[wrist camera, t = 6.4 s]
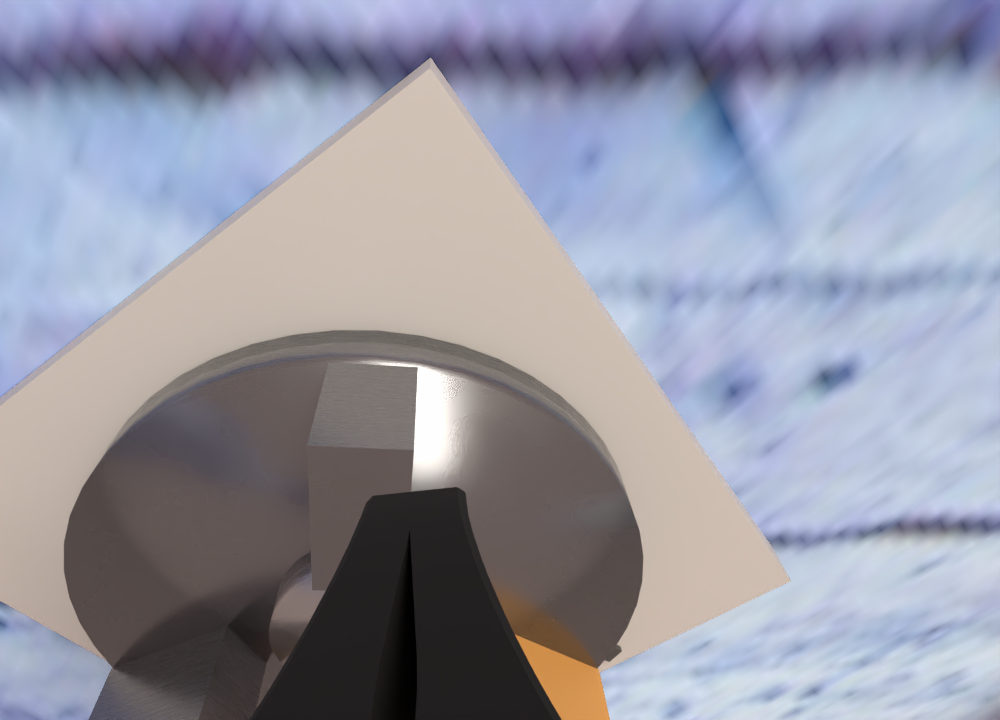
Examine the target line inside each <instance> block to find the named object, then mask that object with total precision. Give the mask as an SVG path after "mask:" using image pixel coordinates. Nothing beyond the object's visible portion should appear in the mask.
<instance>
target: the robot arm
mask: <svg viewBox="0 0 1000 720" xmlns="http://www.w3.org/2000/svg"><path fill="white" fill-rule="evenodd" d="M249 720H562V719H561V717H560V716H559V714H558V712H557V711H556V709H555V707H554V706H553V704H552V702H551V701H550V699H549V697H548V696H547V694H546V692H545V690H544V688H543V687H542V685H541V683H540V681H539V680H538V678H537V676H536V674H535V672H534V670H533V669H532V667H531V665H530V663H529V661H528V659H527V657H526V655H525V653H524V651H523V649H522V647H521V646H520V644H519V642H518V640H517V638H516V636H515V634H514V632H513V630H512V628H511V626H510V623H509V621H508V619H507V617H506V615H505V613H504V611H503V608H502V606H501V604H500V602H499V599H498V597H497V595H496V592H495V590H494V588H493V585H492V583H491V581H490V579H489V576H488V574H487V571H486V569H485V566H484V563H483V561H482V558H481V555H480V552H479V549H478V546H477V543H476V540H475V537H474V534H473V531H472V527H471V523H470V519H469V515H468V507H467V499H466V492H464V491H463V490H461V489H460V488H458V487H451V488H441V489H432V490H423V491H413V492H404V493H394V494H385V495H375V496H372V497H371V498H370V499H369V500H368V501H367V502H366V504H365V507H364V510H363V512H362V515H361V517H360V520H359V522H358V524H357V527H356V529H355V531H354V534H353V536H352V538H351V540H350V543H349V545H348V547H347V549H346V551H345V553H344V555H343V557H342V559H341V562H340V564H339V566H338V568H337V570H336V572H335V574H334V576H333V578H332V580H331V582H330V584H329V585H328V587H327V589H326V591H325V593H324V595H323V597H322V599H321V600H320V602H319V604H318V606H317V608H316V610H315V612H314V614H313V616H312V617H311V619H310V621H309V623H308V625H307V627H306V628H305V630H304V632H303V634H302V635H301V637H300V639H299V640H298V642H297V644H296V645H295V647H294V649H293V650H292V652H291V654H290V655H289V657H288V659H287V660H286V662H285V664H284V665H283V667H282V669H281V670H280V672H279V674H278V675H277V677H276V679H275V680H274V682H273V684H272V685H271V687H270V689H269V690H268V692H267V693H266V695H265V696H264V698H263V700H262V701H261V703H260V704H259V706H258V707H257V709H256V710H255V712H254V713H253V715H252V716H251V718H250V719H249Z"/></svg>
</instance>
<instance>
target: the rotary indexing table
mask: <svg viewBox="0 0 1000 720" xmlns="http://www.w3.org/2000/svg"><path fill="white" fill-rule="evenodd" d="M451 487H458V488H460V489H461V490H463V491H464V492H466V499H467V507H468V515H469V519H470V523H471V527H472V531H473V534H474V537H475V540H476V543H477V546H478V549H479V552H480V555H481V558H482V561H483V563H484V566H485V569H486V571H487V574H488V576H489V579H490V581H491V583H492V585H493V588H494V590H495V592H496V595H497V597H498V599H499V602H500V604H501V606H502V608H503V611H504V613H505V615H506V617H507V619H508V621H509V623H510V626H511V628H512V630H513V632H514V634H515V636H516V638H517V640H518V642H519V644H520V646H521V647H522V649H523V651H524V653H525V655H526V657H527V659H528V661H529V663H530V665H531V667H532V669H533V670H534V672H535V674H536V676H537V678H538V680H539V681H540V683H541V685H542V687H543V688H544V690H545V692H546V694H547V696H548V697H549V699H550V701H551V702H552V704H553V706H554V707H555V709H556V711H557V712H558V714H559V716H560V717H561V719H562V720H610V718H609V714H608V709H607V705H606V700H605V696H604V691H603V687H602V682H601V678H600V673H599V669H598V667H599V666H600V665H601V664H602V663H603V661H604V660H605V659H606V658H607V657H608V655H609V654H610V653H611V652H612V651H613V650H614V648H615V647H616V645H617V643H618V642H619V640H620V639H621V637H622V635H623V634H624V632H625V630H626V629H627V627H628V625H629V622H630V620H631V618H632V615H633V613H634V610H635V608H636V606H637V602H638V598H639V593H640V589H641V585H642V577H643V550H642V543H641V537H640V530H639V527H638V525H637V522H636V519H635V516H634V513H633V510H632V507H631V504H630V501H629V498H628V495H627V492H626V490H625V487H624V484H623V481H622V478H621V475H620V472H619V469H618V466H617V465H616V463H615V461H614V459H613V457H612V456H611V454H610V452H609V450H608V448H607V447H606V445H605V443H604V441H603V440H602V439H601V438H600V436H599V435H598V434H597V433H596V431H595V430H594V429H593V428H592V426H591V425H590V424H589V423H588V421H587V420H586V419H585V418H584V417H583V416H582V415H581V414H580V413H579V412H578V411H577V410H576V409H575V408H573V407H572V406H571V405H570V404H569V403H568V402H567V401H566V400H565V399H564V398H563V397H562V396H560V395H559V394H557V393H556V392H555V391H553V390H552V389H550V388H549V387H547V386H546V385H544V384H543V383H542V382H540V381H539V380H537V379H536V378H534V377H533V376H531V375H529V374H527V373H525V372H523V371H521V370H519V369H518V368H516V367H514V366H512V365H510V364H508V363H506V362H504V361H502V360H500V359H498V358H495V357H492V356H490V355H487V354H484V353H481V352H479V351H476V350H473V349H470V348H468V347H465V346H462V345H459V344H454V343H450V342H446V341H442V340H438V339H433V338H429V337H425V336H420V335H412V334H404V333H395V332H387V331H379V330H333V331H323V332H314V333H305V334H296V335H290V336H285V337H281V338H277V339H272V340H268V341H264V342H259V343H255V344H251V345H248V346H245V347H243V348H240V349H237V350H234V351H232V352H229V353H226V354H223V355H221V356H218V357H215V358H213V359H211V360H209V361H207V362H205V363H203V364H201V365H199V366H198V367H196V368H194V369H192V370H190V371H188V372H186V373H184V374H182V375H180V376H179V377H177V378H176V379H175V380H173V381H172V382H171V383H169V384H168V385H166V386H165V387H164V388H162V389H161V390H159V391H158V392H157V393H155V394H154V395H153V396H151V397H150V398H149V399H148V400H147V401H146V402H145V403H144V404H143V405H142V406H141V407H140V408H139V409H138V410H137V411H136V412H135V413H134V414H133V415H132V416H131V417H130V418H129V419H128V420H127V421H126V423H125V424H124V425H123V427H122V428H121V430H120V431H119V433H118V434H117V435H116V437H115V438H114V440H113V441H112V443H111V444H110V445H109V447H108V448H107V450H106V451H105V453H104V455H103V456H102V458H101V459H100V461H99V462H98V464H97V465H96V467H95V468H94V470H93V472H92V473H91V475H90V476H89V478H88V479H87V481H86V482H85V484H84V485H83V487H82V489H81V491H80V493H79V496H78V498H77V500H76V502H75V505H74V507H73V509H72V511H71V514H70V517H69V521H68V526H67V531H66V535H65V540H64V574H65V579H66V584H67V589H68V594H69V598H70V601H71V603H72V605H73V608H74V610H75V613H76V615H77V618H78V620H79V622H80V624H81V626H82V627H83V629H84V630H85V632H86V634H87V635H88V637H89V638H90V640H91V642H92V643H93V645H94V646H95V647H96V649H97V650H98V651H99V652H100V653H101V654H102V656H103V657H104V658H105V659H106V660H107V661H108V663H109V664H110V665H111V666H112V667H113V668H112V669H111V671H110V673H109V676H108V678H107V680H106V682H105V684H104V687H103V689H102V691H101V693H100V696H99V698H98V700H97V702H96V705H95V707H94V709H93V711H92V714H91V716H90V718H89V720H249V719H250V718H251V716H252V715H253V713H254V712H255V710H256V709H257V707H258V706H259V704H260V703H261V701H262V700H263V698H264V696H265V695H266V693H267V692H268V690H269V689H270V687H271V685H272V684H273V682H274V680H275V679H276V677H277V675H278V674H279V672H280V670H281V669H282V667H283V665H284V664H285V662H286V660H287V659H288V657H289V655H290V654H291V652H292V650H293V649H294V647H295V645H296V644H297V642H298V640H299V639H300V637H301V635H302V634H303V632H304V630H305V628H306V627H307V625H308V623H309V621H310V619H311V617H312V616H313V614H314V612H315V610H316V608H317V606H318V604H319V602H320V600H321V599H322V597H323V595H324V593H325V591H326V589H327V587H328V585H329V584H330V582H331V580H332V578H333V576H334V574H335V572H336V570H337V568H338V566H339V564H340V562H341V559H342V557H343V555H344V553H345V551H346V549H347V547H348V545H349V543H350V540H351V538H352V536H353V534H354V531H355V529H356V527H357V524H358V522H359V520H360V517H361V515H362V512H363V510H364V507H365V504H366V502H367V501H368V500H369V499H370V498H371V497H372V496H375V495H385V494H394V493H404V492H413V491H423V490H432V489H441V488H451Z"/></svg>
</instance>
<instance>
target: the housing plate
mask: <svg viewBox="0 0 1000 720" xmlns="http://www.w3.org/2000/svg"><path fill="white" fill-rule="evenodd" d="M333 330H379V331H387V332H395V333H404V334H412V335H420V336H425V337H429V338H433V339H438V340H442V341H446V342H450V343H454V344H459V345H462V346H465V347H468V348H470V349H473V350H476V351H479V352H481V353H484V354H487V355H490V356H492V357H495V358H498V359H500V360H502V361H504V362H506V363H508V364H510V365H512V366H514V367H516V368H518V369H519V370H521V371H523V372H525V373H527V374H529V375H531V376H533V377H534V378H536V379H537V380H539V381H540V382H542V383H543V384H544V385H546V386H547V387H549V388H550V389H552V390H553V391H555V392H556V393H557V394H559V395H560V396H562V397H563V398H564V399H565V400H566V401H567V402H568V403H569V404H570V405H571V406H572V407H573V408H575V409H576V410H577V411H578V412H579V413H580V414H581V415H582V416H583V417H584V418H585V419H586V420H587V421H588V423H589V424H590V425H591V426H592V428H593V429H594V430H595V431H596V433H597V434H598V435H599V436H600V438H601V439H602V440H603V441H604V443H605V445H606V447H607V448H608V450H609V452H610V454H611V456H612V457H613V459H614V461H615V463H616V465H617V466H618V469H619V472H620V475H621V478H622V481H623V484H624V487H625V490H626V492H627V495H628V498H629V501H630V504H631V507H632V510H633V513H634V516H635V519H636V522H637V525H638V527H639V530H640V537H641V543H642V550H643V577H642V585H641V589H640V593H639V598H638V602H637V606H636V608H635V610H634V613H633V615H632V618H631V620H630V622H629V625H628V627H627V629H626V630H625V632H624V634H623V635H622V637H621V639H620V640H619V642H618V643H617V645H616V647H615V648H614V650H613V651H612V652H611V653H610V654H609V655H608V657H607V658H606V659H605V660H604V661H603V663H602V664H601V665H600V666H599V667H598V669H599V673H600V672H602V671H604V670H606V669H608V668H610V667H612V666H614V665H616V664H618V663H621V662H623V661H625V660H627V659H629V658H631V657H633V656H635V655H637V654H639V653H641V652H644V651H646V650H648V649H650V648H652V647H654V646H656V645H658V644H660V643H662V642H664V641H667V640H669V639H671V638H673V637H675V636H677V635H679V634H681V633H683V632H685V631H687V630H690V629H692V628H694V627H696V626H698V625H700V624H702V623H704V622H706V621H708V620H710V619H713V618H715V617H717V616H719V615H721V614H723V613H725V612H727V611H729V610H731V609H733V608H736V607H738V606H740V605H742V604H744V603H746V602H748V601H750V600H752V599H754V598H756V597H759V596H761V595H763V594H765V593H767V592H769V591H771V590H773V589H775V588H777V587H779V586H782V585H784V584H786V583H788V582H790V581H791V580H790V578H789V577H788V575H787V573H786V571H785V569H784V568H783V566H782V564H781V562H780V560H779V559H778V557H777V555H776V553H775V551H774V549H773V548H772V546H771V545H770V543H769V542H768V541H767V539H766V538H765V536H764V535H763V533H762V532H761V531H760V529H759V528H758V526H757V525H756V523H755V522H754V520H753V519H752V518H751V516H750V515H749V513H748V512H747V510H746V509H745V508H744V506H743V505H742V503H741V502H740V500H739V499H738V498H737V496H736V495H735V493H734V492H733V490H732V489H731V488H730V486H729V485H728V483H727V482H726V480H725V479H724V477H723V476H722V475H721V473H720V472H719V470H718V469H717V467H716V466H715V465H714V463H713V462H712V460H711V459H710V457H709V456H708V455H707V453H706V452H705V450H704V449H703V447H702V446H701V445H700V443H699V442H698V440H697V439H696V437H695V436H694V434H693V433H692V432H691V430H690V429H689V427H688V426H687V424H686V423H685V422H684V420H683V419H682V417H681V416H680V414H679V413H678V412H677V410H676V409H675V407H674V406H673V404H672V403H671V401H670V400H669V399H668V397H667V396H666V394H665V393H664V391H663V390H662V389H661V387H660V386H659V384H658V383H657V381H656V380H655V379H654V377H653V376H652V374H651V373H650V371H649V370H648V369H647V367H646V366H645V364H644V363H643V361H642V360H641V358H640V357H639V356H638V354H637V353H636V351H635V350H634V348H633V347H632V346H631V344H630V343H629V341H628V340H627V338H626V337H625V336H624V334H623V333H622V331H621V330H620V328H619V327H618V326H617V324H616V323H615V321H614V320H613V318H612V317H611V315H610V314H609V313H608V311H607V310H606V308H605V307H604V305H603V304H602V303H601V301H600V300H599V298H598V297H597V295H596V294H595V293H594V291H593V290H592V288H591V287H590V285H589V284H588V283H587V281H586V280H585V278H584V277H583V275H582V274H581V272H580V271H579V270H578V268H577V267H576V265H575V264H574V262H573V261H572V260H571V258H570V257H569V255H568V254H567V252H566V251H565V250H564V248H563V247H562V245H561V244H560V242H559V241H558V240H557V238H556V237H555V235H554V234H553V232H552V231H551V229H550V228H549V227H548V225H547V224H546V222H545V221H544V219H543V218H542V217H541V215H540V214H539V212H538V211H537V209H536V208H535V207H534V205H533V204H532V202H531V201H530V199H529V198H528V197H527V195H526V194H525V192H524V191H523V189H522V188H521V186H520V185H519V184H518V182H517V181H516V179H515V178H514V176H513V175H512V174H511V172H510V171H509V169H508V168H507V166H506V165H505V164H504V162H503V161H502V159H501V158H500V156H499V155H498V154H497V152H496V151H495V149H494V148H493V146H492V145H491V143H490V142H489V141H488V139H487V138H486V136H485V135H484V133H483V132H482V131H481V129H480V128H479V126H478V125H477V123H476V122H475V121H474V119H473V118H472V116H471V115H470V113H469V112H468V111H467V109H466V108H465V106H464V105H463V103H462V102H461V100H460V99H459V98H458V96H457V95H456V93H455V92H454V90H453V89H452V88H451V86H450V85H449V83H448V82H447V80H446V79H445V78H444V76H443V75H442V73H441V72H440V70H439V69H438V68H437V66H436V65H435V63H434V62H433V60H432V59H431V58H429V59H428V60H427V61H426V62H424V63H423V64H422V65H421V66H419V67H418V68H417V69H416V70H414V71H413V72H412V73H410V74H409V75H408V76H407V77H405V78H404V79H403V80H402V81H400V82H399V83H398V84H397V85H395V86H394V87H393V88H392V89H390V90H389V91H388V92H386V93H385V94H384V95H383V96H381V97H380V98H379V99H378V100H376V101H375V102H374V103H373V104H371V105H370V106H369V107H367V108H366V109H365V110H364V111H362V112H361V113H360V114H359V115H357V116H356V117H355V118H354V119H352V120H351V121H350V122H348V123H347V124H346V125H345V126H343V127H342V128H341V129H340V130H338V131H337V132H336V133H335V134H333V135H332V136H331V137H330V138H328V139H327V140H326V141H324V142H323V143H322V144H321V145H319V146H318V147H317V148H316V149H314V150H313V151H312V152H311V153H309V154H308V155H307V156H305V157H304V158H303V159H302V160H300V161H299V162H298V163H297V164H295V165H294V166H293V167H292V168H290V169H289V170H288V171H286V172H285V173H284V174H283V175H281V176H280V177H279V178H278V179H276V180H275V181H274V182H273V183H271V184H270V185H269V186H267V187H266V188H265V189H264V190H262V191H261V192H260V193H259V194H257V195H256V196H255V197H254V198H252V199H251V200H250V201H249V202H247V203H246V204H245V205H243V206H242V207H241V208H240V209H238V210H237V211H236V212H235V213H233V214H232V215H231V216H230V217H228V218H227V219H226V220H224V221H223V222H222V223H221V224H219V225H218V226H217V227H216V228H214V229H213V230H212V231H211V232H209V233H208V234H207V235H205V236H204V237H203V238H202V239H200V240H199V241H198V242H197V243H195V244H194V245H193V246H192V247H190V248H189V249H188V250H187V251H185V252H184V253H183V254H181V255H180V256H179V257H178V258H176V259H175V260H174V261H173V262H171V263H170V264H169V265H168V266H166V267H165V268H164V269H162V270H161V271H160V272H159V273H157V274H156V275H155V276H154V277H152V278H151V279H150V280H149V281H147V282H146V283H145V284H143V285H142V286H141V287H140V288H138V289H137V290H136V291H135V292H133V293H132V294H131V295H130V296H128V297H127V298H126V299H124V300H123V301H122V302H121V303H119V304H118V305H117V306H116V307H114V308H113V309H112V310H111V311H109V312H108V313H107V314H106V315H104V316H103V317H102V318H100V319H99V320H98V321H97V322H95V323H94V324H93V325H92V326H90V327H89V328H88V329H87V330H85V331H84V332H83V333H81V334H80V335H79V336H78V337H76V338H75V339H74V340H73V341H71V342H70V343H69V344H68V345H66V346H65V347H64V348H62V349H61V350H60V351H59V352H57V353H56V354H55V355H54V356H52V357H51V358H50V359H49V360H47V361H46V362H45V363H43V364H42V365H41V366H40V367H38V368H37V369H36V370H35V371H33V372H32V373H31V374H30V375H28V376H27V377H26V378H25V379H23V380H22V381H21V382H19V383H18V384H17V385H16V386H14V387H13V388H12V389H11V390H9V391H8V392H7V393H6V394H4V395H3V396H2V397H0V601H1V602H3V603H5V604H7V605H8V606H10V607H12V608H14V609H16V610H17V611H19V612H21V613H23V614H24V615H26V616H28V617H30V618H32V619H33V620H35V621H37V622H39V623H40V624H42V625H44V626H46V627H47V628H49V629H51V630H53V631H55V632H56V633H58V634H60V635H62V636H63V637H65V638H67V639H69V640H71V641H72V642H74V643H76V644H78V645H79V646H81V647H83V648H85V649H87V650H88V651H90V652H92V653H94V654H95V655H97V656H99V657H101V658H102V659H104V660H106V659H105V658H104V657H103V656H102V654H101V653H100V652H99V651H98V650H97V649H96V647H95V646H94V645H93V643H92V642H91V640H90V638H89V637H88V635H87V634H86V632H85V630H84V629H83V627H82V626H81V624H80V622H79V620H78V618H77V615H76V613H75V610H74V608H73V605H72V603H71V601H70V598H69V594H68V589H67V584H66V579H65V574H64V540H65V535H66V531H67V526H68V521H69V517H70V514H71V511H72V509H73V507H74V505H75V502H76V500H77V498H78V496H79V493H80V491H81V489H82V487H83V485H84V484H85V482H86V481H87V479H88V478H89V476H90V475H91V473H92V472H93V470H94V468H95V467H96V465H97V464H98V462H99V461H100V459H101V458H102V456H103V455H104V453H105V451H106V450H107V448H108V447H109V445H110V444H111V443H112V441H113V440H114V438H115V437H116V435H117V434H118V433H119V431H120V430H121V428H122V427H123V425H124V424H125V423H126V421H127V420H128V419H129V418H130V417H131V416H132V415H133V414H134V413H135V412H136V411H137V410H138V409H139V408H140V407H141V406H142V405H143V404H144V403H145V402H146V401H147V400H148V399H149V398H150V397H151V396H153V395H154V394H155V393H157V392H158V391H159V390H161V389H162V388H164V387H165V386H166V385H168V384H169V383H171V382H172V381H173V380H175V379H176V378H177V377H179V376H180V375H182V374H184V373H186V372H188V371H190V370H192V369H194V368H196V367H198V366H199V365H201V364H203V363H205V362H207V361H209V360H211V359H213V358H215V357H218V356H221V355H223V354H226V353H229V352H232V351H234V350H237V349H240V348H243V347H245V346H248V345H251V344H255V343H259V342H264V341H268V340H272V339H277V338H281V337H285V336H290V335H296V334H305V333H314V332H323V331H333ZM106 661H107V660H106Z"/></svg>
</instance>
